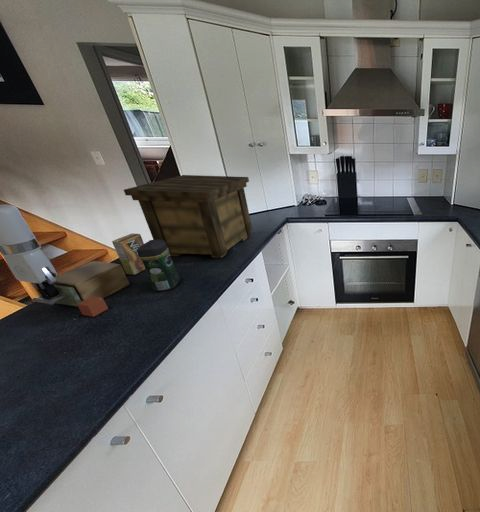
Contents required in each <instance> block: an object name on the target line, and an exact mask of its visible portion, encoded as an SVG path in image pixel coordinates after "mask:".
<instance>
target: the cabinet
mask: <svg viewBox="0 0 480 512" xmlns="http://www.w3.org/2000/svg"><path fill="white" fill-rule="evenodd" d="M126 275H127V274H126V272H125V270H124V268H123V266H122V263H121V264H120V263H113V262H106V261H99V260H93V261H90V262H87V263H85V264H82V265H79V266H78V267H75V268H73V269H70V270H67V271H64V272H62V273H59V274H57V277H54V278H55V279H56V280H57V282H56V283H58V284H65V285H72V286H75V287H76V289H77V291H78V293H79V294H80V296H81V298H82V300H83V301H84V300H86V299H88V298H90V297H92V296H93V297H100V298H103V299H105V298H107V297H108V296H111V295H112V294H114V293H116V292H118V291H120V290H122V289H124V288H127V287H128V286H130V285H131V284H130V282H129V280H128V277H127V276H126Z"/></svg>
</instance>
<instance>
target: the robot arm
mask: <svg viewBox="0 0 480 512" xmlns="http://www.w3.org/2000/svg"><path fill="white" fill-rule="evenodd" d="M41 248H42V246H41V244H40V242H39V241H38V239H37V238H36V236H35V234H34V232H33V231H32V229H31V228H30V226H29V225H28V223H27V221H26V219H25V217H24V216H23V214H22V213H21V210H19V208H18V207H16V206H15V205H13V204H0V254H1V255H2V256H3V258H4V261H5V263H6V264H7V267H8V268H9V270H10V271H11V273H12V275H13V277H14V278H15V279H16V280H17V281H19V282H24V283H31V284H32V285H33V287H34V288H35V289H36V290H37V291H38V292H39V294H40V295H41V296H42V297H43V298H42V299H49V300H51V298H53V297H55V296H58V295H59V292H58V291H57V289H56V287H55V286H54V283H56V282H57V280H56V279H55V278H54V277H57V275H58V272H57V271H56V269H55V267H54V265H53V264H52V262H51V261H50V260H49V258H48V257H47V255H46V254H45V252H44V251H43V250H42V249H41ZM47 295H48V296H47ZM41 296H40V297H41Z"/></svg>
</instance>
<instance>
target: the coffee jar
mask: <svg viewBox="0 0 480 512" xmlns="http://www.w3.org/2000/svg"><path fill="white" fill-rule="evenodd" d="M137 253H138V256H139V258H140V259H141V261H142V262H143V264H144V267H145V269H144V270H145V272H146V275H147V277H148V280H149V283H150V287H151V288H152V290H153V291H156V292H166V291H168V290H171V289H173V288H175V287H176V286H177V285H178V284H179V282H180V279H181V277H180V276H179V273H178V271H177V268H176V266H175V263H174V262H173V259H172V256H170V253H169V249H168V246H167V244H166V242H165V241H163V240H161V239H160V240H153V239H149V240H148V241H146V242H145V243H144V244H143V245H142V246H141V247H139V248H138V249H137Z"/></svg>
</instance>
